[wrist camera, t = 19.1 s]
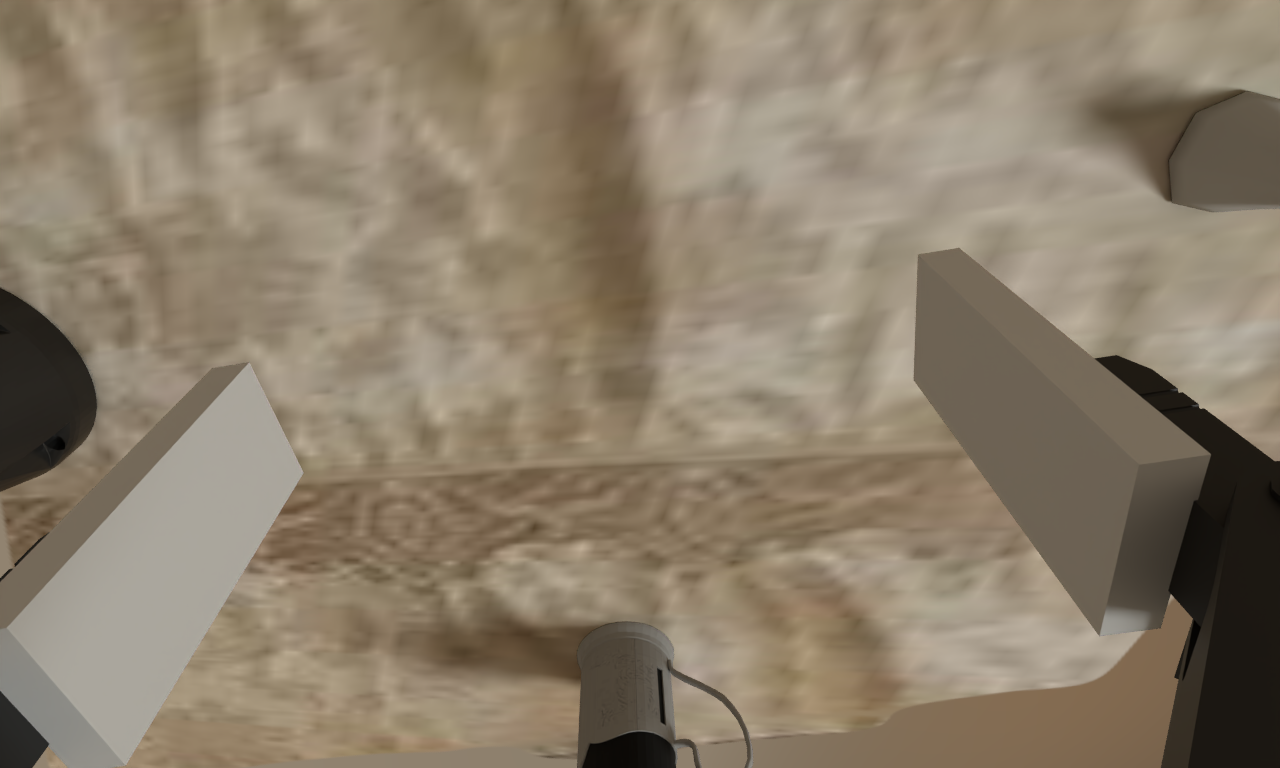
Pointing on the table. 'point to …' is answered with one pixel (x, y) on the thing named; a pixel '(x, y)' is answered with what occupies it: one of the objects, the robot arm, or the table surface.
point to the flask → (1230, 157)
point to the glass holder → (632, 700)
